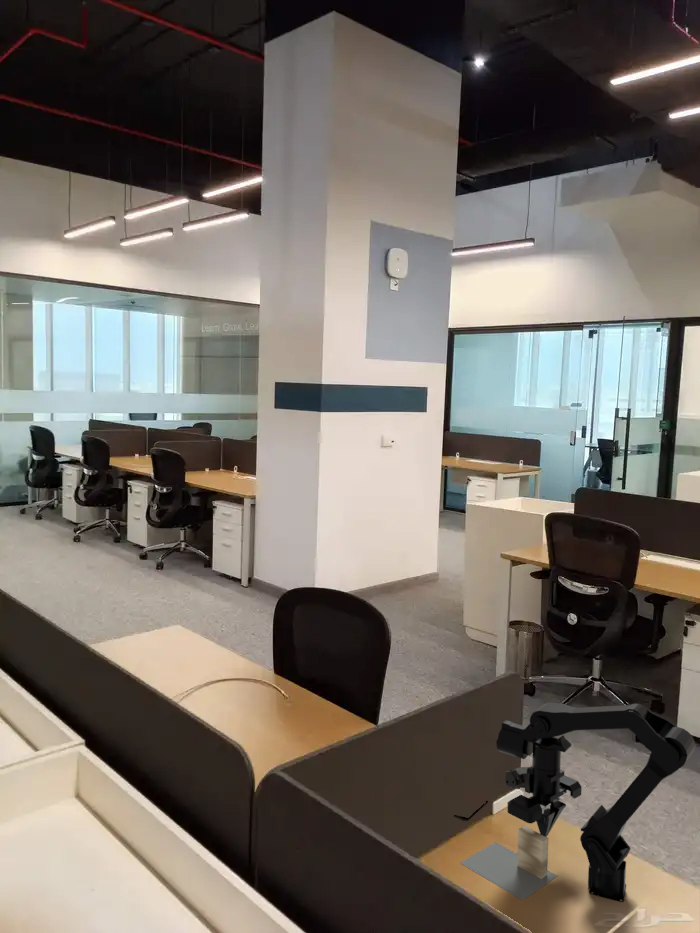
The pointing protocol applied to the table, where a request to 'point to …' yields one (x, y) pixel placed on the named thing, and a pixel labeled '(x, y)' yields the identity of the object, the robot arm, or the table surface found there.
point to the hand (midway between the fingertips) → (544, 836)
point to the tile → (532, 852)
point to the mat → (506, 871)
